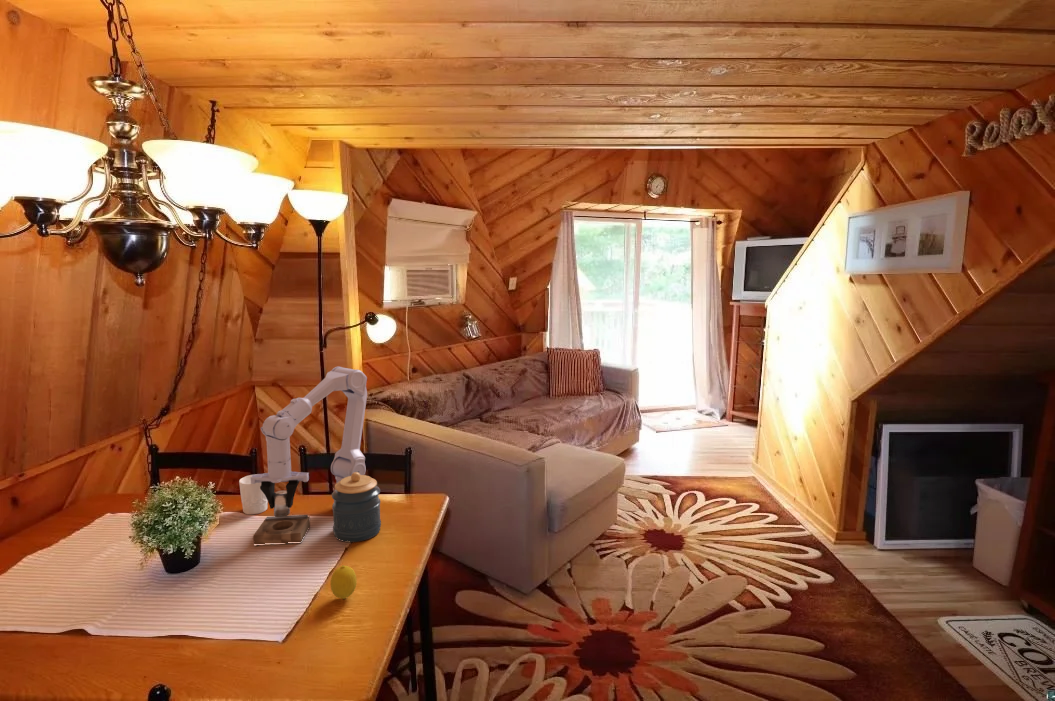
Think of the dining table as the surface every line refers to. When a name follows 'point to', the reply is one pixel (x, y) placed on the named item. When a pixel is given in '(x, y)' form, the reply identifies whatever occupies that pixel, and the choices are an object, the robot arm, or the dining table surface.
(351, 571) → the lemon
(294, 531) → the block
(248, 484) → the white cup
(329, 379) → the robot arm
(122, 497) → the dining table surface
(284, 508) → the bushing
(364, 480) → the canister
